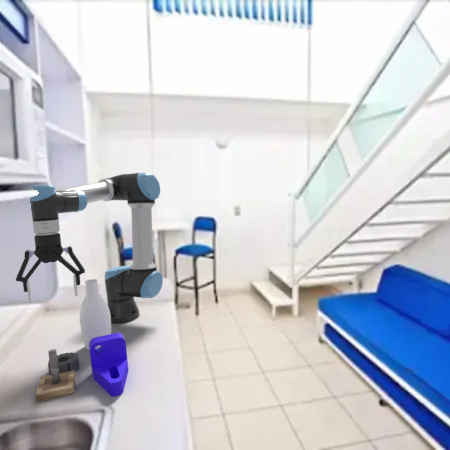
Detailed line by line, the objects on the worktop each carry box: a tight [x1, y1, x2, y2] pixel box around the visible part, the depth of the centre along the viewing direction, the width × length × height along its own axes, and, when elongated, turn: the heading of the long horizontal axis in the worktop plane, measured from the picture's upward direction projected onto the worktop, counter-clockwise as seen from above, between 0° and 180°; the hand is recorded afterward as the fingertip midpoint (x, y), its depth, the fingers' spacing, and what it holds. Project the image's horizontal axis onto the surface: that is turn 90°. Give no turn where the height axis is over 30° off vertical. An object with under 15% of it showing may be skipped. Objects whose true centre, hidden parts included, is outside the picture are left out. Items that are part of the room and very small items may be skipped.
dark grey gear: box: [47, 352, 80, 375], centre depth 125 cm, size 9×9×4 cm
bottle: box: [79, 278, 112, 351], centre depth 141 cm, size 11×11×25 cm
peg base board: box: [35, 348, 76, 403], centre depth 113 cm, size 11×10×12 cm
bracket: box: [88, 332, 130, 398], centre depth 115 cm, size 18×11×12 cm, turn 24°
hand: (54, 298), depth 122 cm, fingers open, 13 cm apart
